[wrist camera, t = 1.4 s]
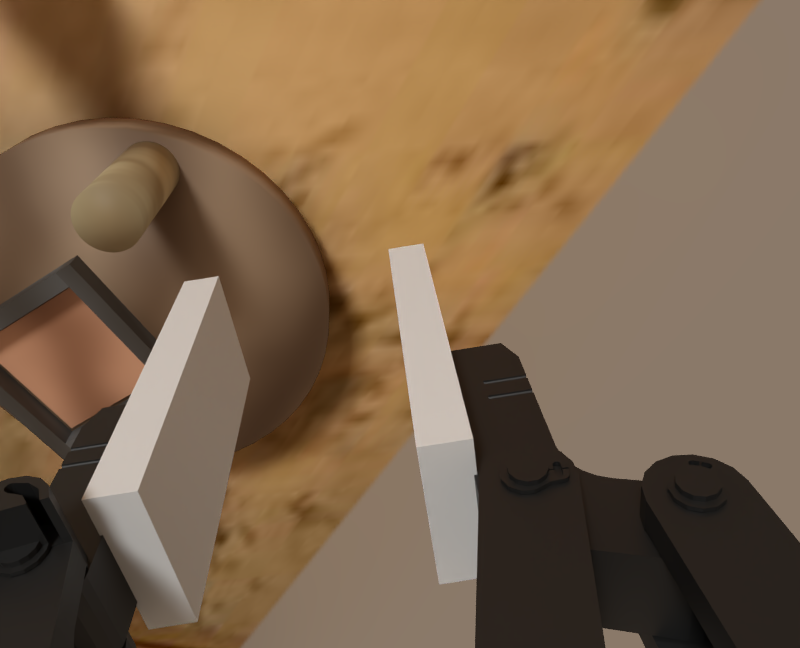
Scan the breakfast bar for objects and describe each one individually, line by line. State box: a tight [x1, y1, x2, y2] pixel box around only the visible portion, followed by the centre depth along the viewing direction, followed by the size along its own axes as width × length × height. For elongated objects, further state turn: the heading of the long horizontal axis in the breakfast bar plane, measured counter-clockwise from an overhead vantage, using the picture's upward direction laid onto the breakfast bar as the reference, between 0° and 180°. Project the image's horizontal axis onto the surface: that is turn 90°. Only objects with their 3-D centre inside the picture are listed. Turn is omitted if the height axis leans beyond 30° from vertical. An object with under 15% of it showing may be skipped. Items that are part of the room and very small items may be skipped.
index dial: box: [0, 118, 329, 459], centre depth 30 cm, size 18×18×8 cm
